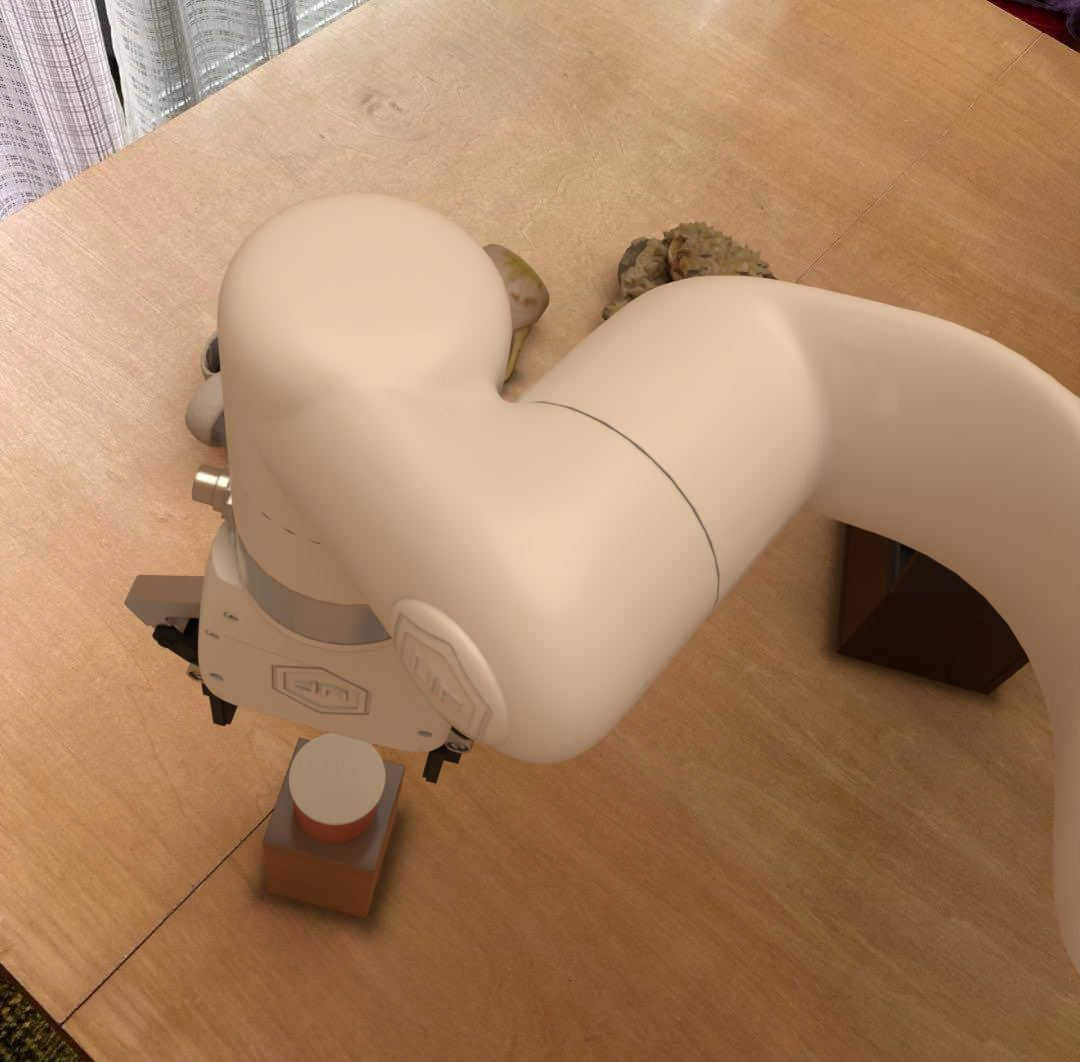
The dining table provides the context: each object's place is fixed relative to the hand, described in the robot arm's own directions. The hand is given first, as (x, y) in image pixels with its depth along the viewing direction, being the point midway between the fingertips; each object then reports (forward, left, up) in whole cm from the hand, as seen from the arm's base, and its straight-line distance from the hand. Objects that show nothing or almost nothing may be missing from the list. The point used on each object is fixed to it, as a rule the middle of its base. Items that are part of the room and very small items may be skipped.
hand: (335, 724), depth 53 cm
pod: (0, 0, -10) cm, 10 cm away
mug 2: (+43, +1, -21) cm, 48 cm away
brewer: (+30, -36, -20) cm, 51 cm away
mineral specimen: (+49, -14, -21) cm, 55 cm away
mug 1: (+28, +14, -21) cm, 37 cm away
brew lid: (+25, -36, -4) cm, 44 cm away
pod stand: (0, 0, -20) cm, 20 cm away
